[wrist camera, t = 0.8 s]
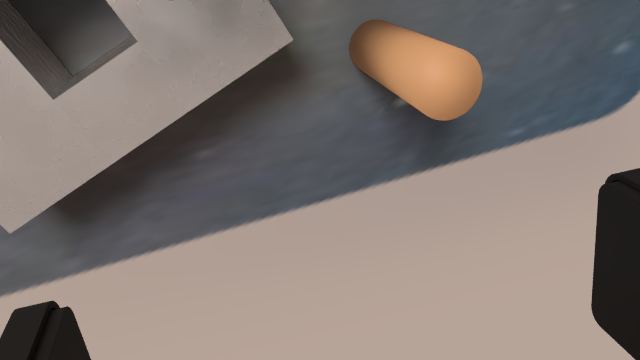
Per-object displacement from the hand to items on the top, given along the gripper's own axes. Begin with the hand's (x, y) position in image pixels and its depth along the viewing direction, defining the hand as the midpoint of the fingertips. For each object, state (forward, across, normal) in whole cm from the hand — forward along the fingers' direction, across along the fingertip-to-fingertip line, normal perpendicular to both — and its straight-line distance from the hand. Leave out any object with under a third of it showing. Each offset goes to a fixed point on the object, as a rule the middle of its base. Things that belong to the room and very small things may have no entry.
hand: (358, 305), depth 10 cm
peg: (+24, -7, +1) cm, 25 cm away
